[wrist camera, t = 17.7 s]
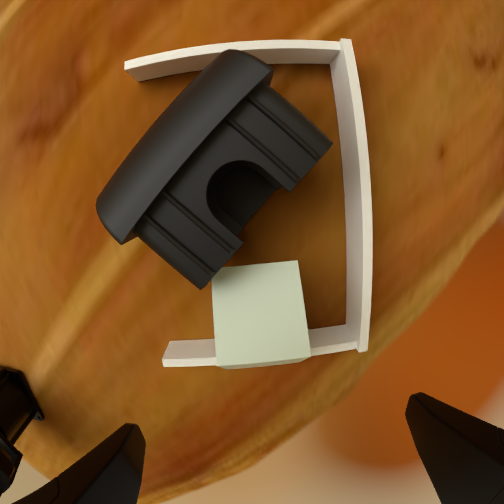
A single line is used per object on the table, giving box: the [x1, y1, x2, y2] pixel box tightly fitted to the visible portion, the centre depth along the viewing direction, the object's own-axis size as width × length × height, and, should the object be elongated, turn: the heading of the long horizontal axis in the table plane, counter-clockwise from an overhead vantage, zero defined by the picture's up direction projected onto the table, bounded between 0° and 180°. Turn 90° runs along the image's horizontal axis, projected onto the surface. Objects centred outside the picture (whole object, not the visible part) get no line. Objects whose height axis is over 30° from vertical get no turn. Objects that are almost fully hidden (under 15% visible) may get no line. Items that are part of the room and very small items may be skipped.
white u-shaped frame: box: [125, 38, 372, 367], centre depth 17 cm, size 19×13×3 cm
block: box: [211, 260, 311, 369], centre depth 17 cm, size 4×4×5 cm
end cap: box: [96, 49, 333, 290], centre depth 15 cm, size 10×7×7 cm
